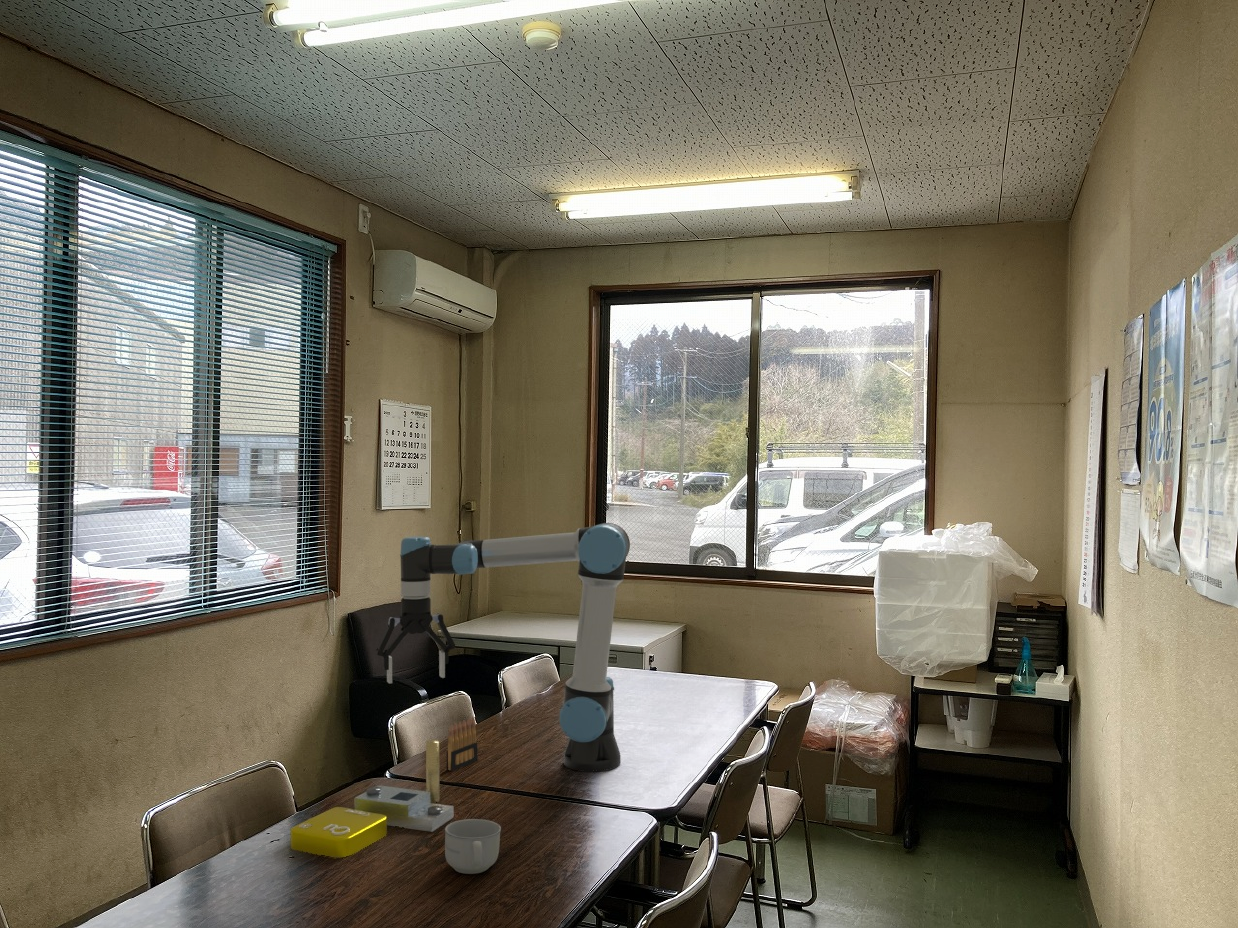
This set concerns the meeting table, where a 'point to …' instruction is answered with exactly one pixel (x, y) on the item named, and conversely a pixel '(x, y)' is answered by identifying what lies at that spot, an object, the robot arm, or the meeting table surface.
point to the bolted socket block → (404, 807)
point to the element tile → (338, 832)
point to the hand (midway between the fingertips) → (416, 679)
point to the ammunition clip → (462, 745)
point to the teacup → (472, 845)
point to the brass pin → (432, 770)
